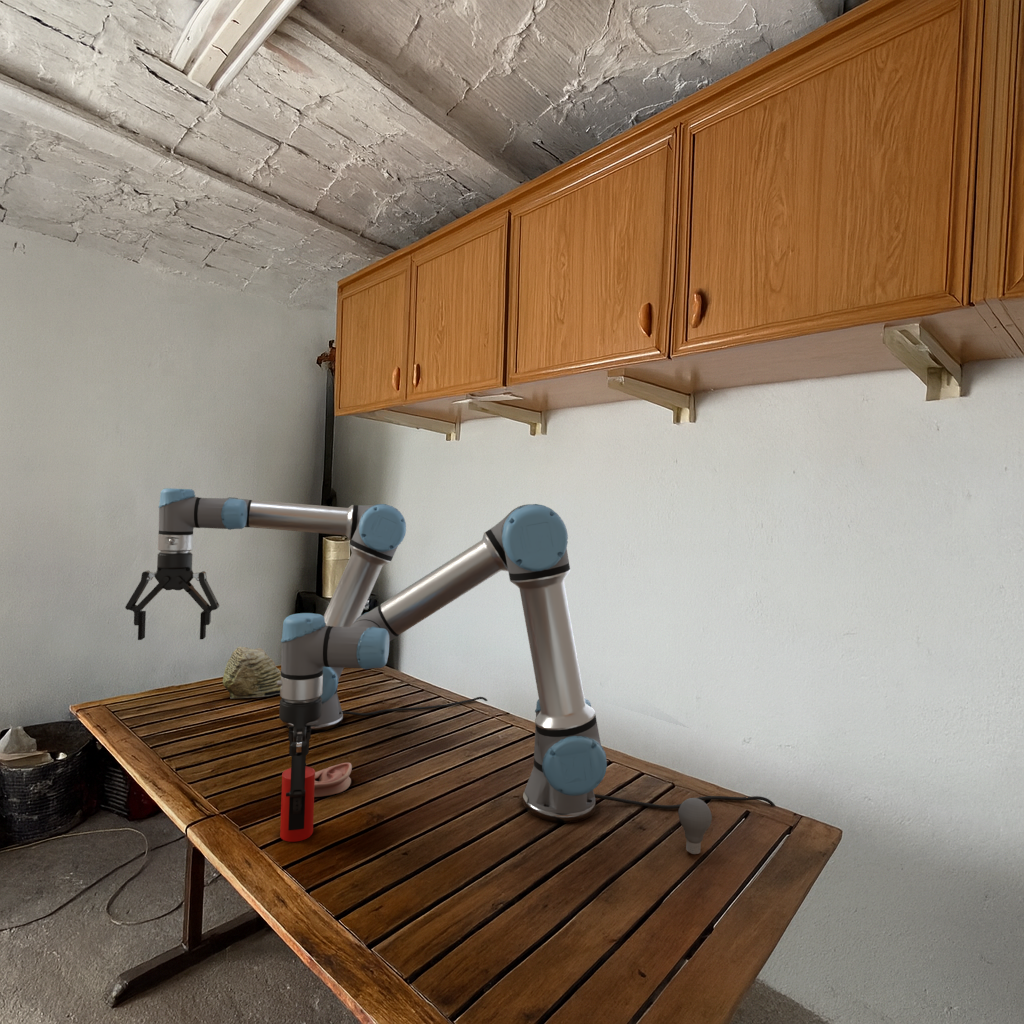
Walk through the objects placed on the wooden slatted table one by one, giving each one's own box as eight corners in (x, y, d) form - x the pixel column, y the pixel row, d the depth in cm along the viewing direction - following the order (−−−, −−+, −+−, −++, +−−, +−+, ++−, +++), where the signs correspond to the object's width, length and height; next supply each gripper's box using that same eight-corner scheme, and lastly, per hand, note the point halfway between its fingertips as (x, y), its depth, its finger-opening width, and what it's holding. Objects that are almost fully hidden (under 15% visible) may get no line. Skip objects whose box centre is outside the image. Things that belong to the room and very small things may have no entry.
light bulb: (672, 843, 121) (674, 791, 121) (702, 843, 121) (705, 792, 121) (683, 861, 115) (685, 807, 115) (715, 861, 115) (717, 807, 115)
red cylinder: (276, 830, 120) (278, 769, 120) (308, 822, 123) (310, 763, 123) (284, 845, 115) (286, 781, 115) (316, 836, 118) (318, 775, 118)
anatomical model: (276, 775, 134) (304, 754, 145) (275, 793, 134) (304, 771, 145) (334, 783, 131) (358, 761, 142) (333, 802, 131) (357, 779, 142)
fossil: (218, 695, 195) (220, 647, 195) (278, 685, 208) (279, 640, 207) (228, 703, 189) (230, 653, 188) (289, 692, 201) (290, 645, 201)
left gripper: (112, 551, 147) (109, 642, 148) (227, 554, 154) (224, 641, 154) (123, 549, 155) (120, 635, 155) (233, 551, 161) (230, 634, 161)
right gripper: (282, 683, 126) (278, 798, 127) (276, 715, 108) (272, 849, 109) (321, 681, 129) (317, 794, 129) (322, 712, 111) (317, 843, 111)
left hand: (172, 638), depth 155 cm, fingers open, 13 cm apart
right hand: (296, 819), depth 119 cm, fingers closed on red cylinder, 6 cm apart
